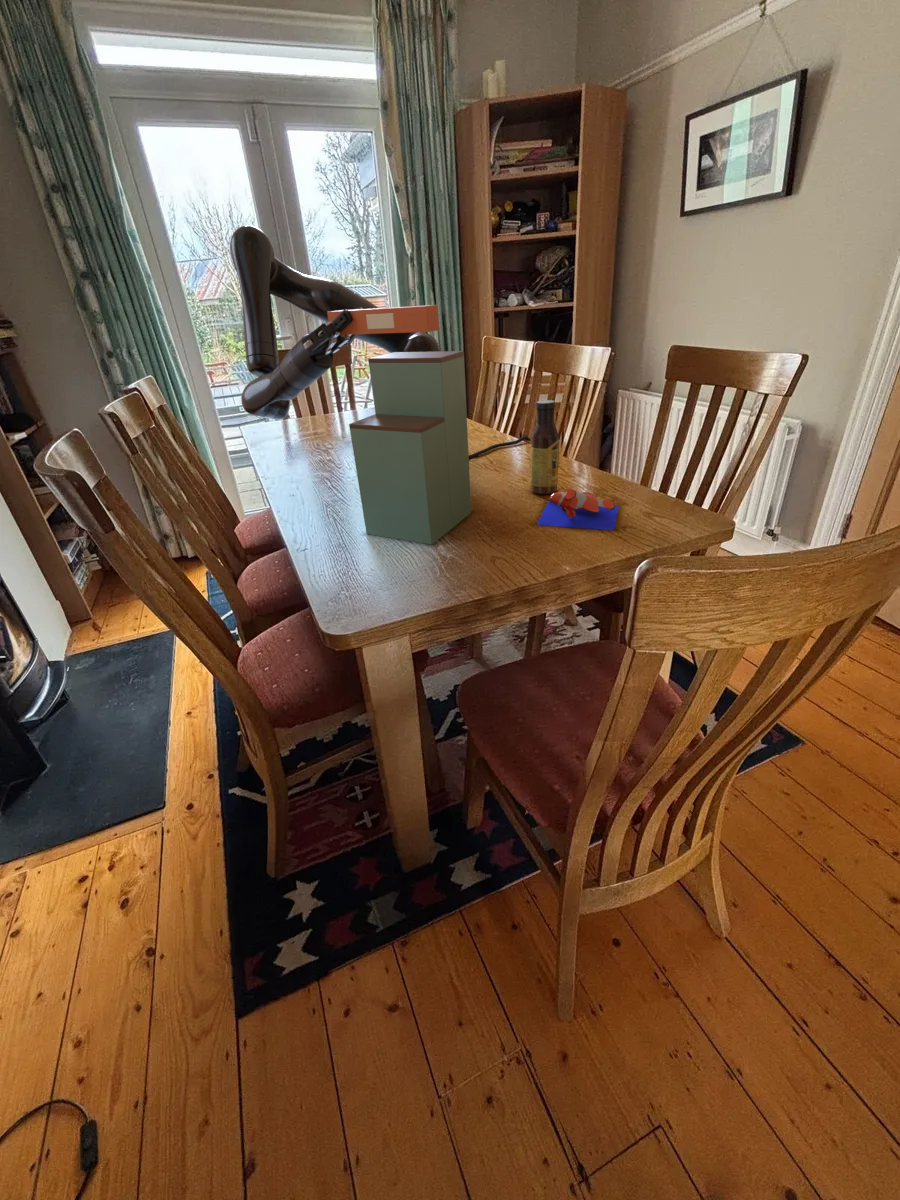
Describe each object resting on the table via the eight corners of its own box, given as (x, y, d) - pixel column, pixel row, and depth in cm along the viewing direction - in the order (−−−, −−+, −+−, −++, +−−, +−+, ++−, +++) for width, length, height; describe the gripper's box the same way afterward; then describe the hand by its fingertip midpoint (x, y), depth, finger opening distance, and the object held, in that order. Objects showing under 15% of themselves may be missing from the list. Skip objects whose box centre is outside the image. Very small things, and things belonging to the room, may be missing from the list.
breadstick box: (330, 335, 103) (326, 311, 101) (343, 333, 106) (340, 310, 104) (428, 332, 93) (426, 306, 91) (439, 329, 96) (437, 304, 94)
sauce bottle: (557, 495, 120) (560, 404, 110) (529, 495, 121) (530, 405, 111) (557, 486, 126) (561, 398, 115) (531, 486, 127) (532, 399, 117)
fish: (547, 495, 106) (554, 481, 112) (546, 517, 108) (553, 502, 115) (614, 498, 102) (617, 484, 108) (612, 521, 104) (615, 505, 111)
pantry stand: (366, 534, 109) (339, 365, 92) (411, 504, 122) (394, 352, 105) (431, 545, 102) (415, 364, 85) (471, 512, 115) (463, 351, 98)
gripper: (271, 350, 105) (321, 296, 94) (318, 341, 115) (368, 292, 104) (293, 385, 106) (344, 336, 96) (337, 373, 117) (388, 328, 106)
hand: (356, 313), depth 100 cm, fingers closed on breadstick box, 4 cm apart
